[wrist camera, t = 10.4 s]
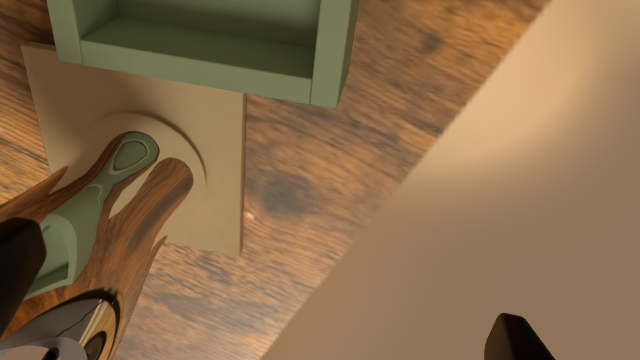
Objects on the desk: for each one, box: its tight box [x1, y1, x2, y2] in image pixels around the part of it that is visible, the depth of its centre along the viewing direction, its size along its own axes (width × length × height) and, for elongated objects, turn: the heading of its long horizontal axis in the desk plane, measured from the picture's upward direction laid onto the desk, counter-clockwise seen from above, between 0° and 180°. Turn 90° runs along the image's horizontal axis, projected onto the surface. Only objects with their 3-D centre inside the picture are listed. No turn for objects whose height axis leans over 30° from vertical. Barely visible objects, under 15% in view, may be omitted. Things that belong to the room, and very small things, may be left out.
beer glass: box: [0, 112, 206, 360], centre depth 19 cm, size 7×7×15 cm
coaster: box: [20, 41, 246, 256], centre depth 25 cm, size 10×10×1 cm
